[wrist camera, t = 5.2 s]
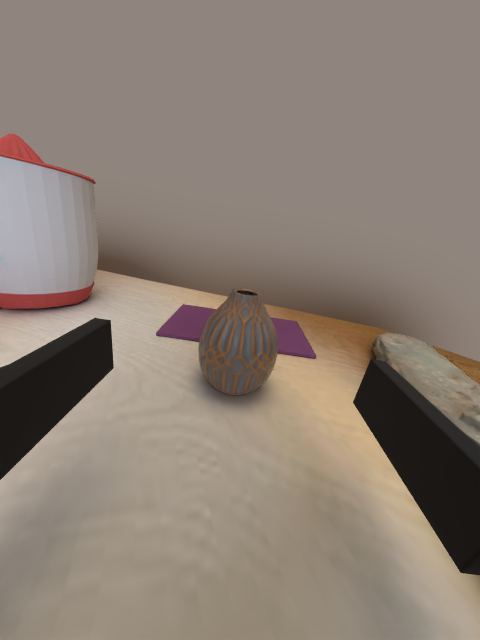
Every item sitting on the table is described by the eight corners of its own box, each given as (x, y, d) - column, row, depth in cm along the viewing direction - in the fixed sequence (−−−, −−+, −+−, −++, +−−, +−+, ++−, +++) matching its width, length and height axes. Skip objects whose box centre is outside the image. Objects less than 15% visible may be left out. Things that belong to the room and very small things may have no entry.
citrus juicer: (90, 281, 45) (79, 163, 38) (116, 309, 33) (107, 148, 26) (-31, 283, 34) (-77, 122, 27) (-52, 326, 23) (-142, 66, 16)
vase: (250, 421, 17) (273, 313, 14) (179, 385, 20) (185, 287, 16) (278, 377, 23) (298, 295, 20) (220, 354, 25) (230, 278, 22)
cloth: (296, 323, 39) (296, 321, 39) (315, 358, 28) (316, 355, 28) (182, 306, 39) (183, 304, 39) (156, 335, 28) (156, 332, 27)
